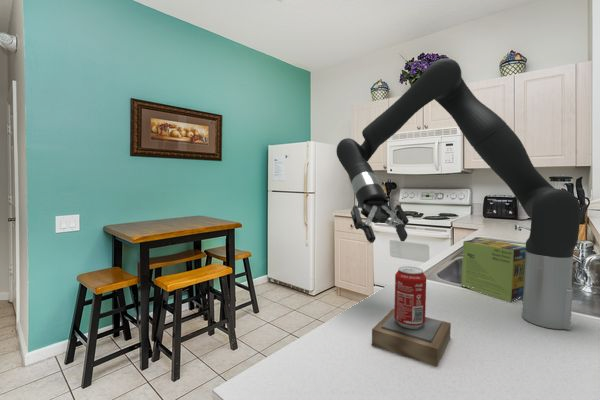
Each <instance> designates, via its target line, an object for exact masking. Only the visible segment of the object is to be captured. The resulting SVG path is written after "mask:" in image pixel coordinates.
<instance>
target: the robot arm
mask: <svg viewBox="0 0 600 400" xmlns="http://www.w3.org/2000/svg"><path fill="white" fill-rule="evenodd" d="M433 100H434V101H435V102H437V103H438V104H439V105H440V106H441V107H442V108H443V109H444V110H445V111H446V112H447V113H448V114H449V115H450V116H451V118H452V119H453V120H454V121H455V123H456V126H457V127H458V128H459V130H460V131H461V133H462V135H464V137H465V139H466V140H467V141H468V143H469V144H470V146H471V147H472V148H473V149H474V151H475V152H476V153H477V154H478V156H479V157H480V158H481V160H483V161H484V162H485V163H486V164H487V165H488V167H489V168H490V169H491V170H492V171H493V173H495V174H496V175H497V176H498V177H499V178H500V179H501V180H502V181H503V182H504V183H505V184H506V185H507V187H508V188H509V189H510V191H512V194H513V195H514V196H515V198H516V200H517V201H518V203H519V205H520V206H521V207H522V209H523V210H524V213H526V215H527V216H528V217H529V219H530V229H529V230H530V232H529V237H528V238H527V239H526V240H525V245H526V248H525V269H524V287H523V298H522V307H521V310H522V311H521V316H522V317H521V318H522V319H524V320H525V321H527V322H528V323H531V324H533V325H535V326H538V327H542V328H548V329H552V330H553V329H555V330H567V331H570V330H571V324H572V322H571V321H572V306H573V305H572V304H573V289H572V282H573V281H572V280H573V279H572V278H573V264H574V251H575V248H576V246H577V245H578V242H579V233H580V225H581V215H582V214H581V209H582V208H581V204H580V201H579V199H578V198H577V197H576V196H575V194H573V193H572V192H570V191H567V190H566V189H562V188H561V189H560V188H556V187H554V186H553V185H552V184H551V183H549V182H548V181H547V180H546V179H545V178H544V176H542V174H540V172H539V171H538V170H537V168H536V167H535V166H534V164H533V163H532V160H531V158H530V156H529V154H528V152H527V150H526V148H525V146H524V144H523V143H522V140H521V139H520V138H519V136H518V135H517V134H516V133H515V132H514V130H513V129H512V128H511V127H510V126H509V124H507V122H506V121H505V120H503V118H501V116H499V115H498V113H496V112H495V111H493V110H492V109H491V108H490V107H488V106H487V105H485V104H484V103H483V102H481V101H480V100H479V99H478V98H477V97H476V96H475V95H474V93H473V92H472V90H471V89H470V87H468V85H467V84H466V82H465V80H464V78H463V77H462V69H461V66H460V64H459V63H458V62H457V61H456V60H454V59H452V58H439V59H437V60H435V61H433V62H431V64H430V65H429V66H428V67H427V68H426V69H425V70H424V72H423V73H421V75H420V76H419V77H418V78H417V80H416V81H414V83H413V84H412V85H411V86H410V87H409V88H408V89H407V90H406V91H405V92H404V93H403V94H402V95H401V96H400V97H399V98H398V99H397V100H396V101H395V102H394V103H392V104H391V105H390V106H389V107H388V108H387V109H386V110H384V111H383V112H382V113H380V115H378V116H377V117H375V119H374V120H372V122H370V123H369V124H368V125H366V126H365V128H363V129H362V131H361V134H362V137H363V139H364V140H363V142H362V144H359V143H358V141H356V140H355V139H353V138H349V137H346V138H342V140H340V141H339V142H338V144H337V146H336V157H337V158H338V160H339V163H340V164H341V166H342V167H343V168H344V170H345V171H346V173H347V175H348V178H349V181H350V183H351V185H352V190H353V193H354V196H355V200H356V201H357V204H358V205H353V206H352V209H351V211H350V216H351V218H352V223H353V226H354V229H356V230H359V229H361V230H362V231H363V233H364V235H365V238H366V240H367V241H369V243H370V244H372V243H374V242H375V241H376V234H375V233H374V230H373V227H372V225H371V223H374V224H377V223H380V224H383V223H384V224H387V226H391V227H393V228H394V229H395V232H396V234H397V236H398V238H399V240H400V242H405V241H406V239H407V238H408V233H407V231H406V228H405V227H406V226H407V224H408V223H409V221H410V220H409V218H408V217H407V215H406V213H405V212H404V210H403V208H402V206H401V204H396V205H395V206H390V204H389V203H388V198H387V196H386V194H385V192H384V190H383V188H382V185H381V183H380V180H379V179H378V178H377V176H376V175H375V172H374V170H373V168H372V166H371V165H370V163H369V160H370V159H371V158H372V156H373V155H374V154H375V153H376V151H377V150H378V149H379V147H380V146H381V145H382V144H384V143H385V142H386V141H388V140H389V139H390V138H392V137H393V136H394V135H395V134H396V133H397V132H398V131H399V130H400V129H401V128H402V127H403V126H405V124H406V123H407V122H409V120H410V119H411V118H412V117H413V116H414V115H415V114H416V113H417V112H420V110H421V109H422V108H423V107H425V106H426V105H428V104H429V103H430V102H432V101H433ZM361 215H362V216H364V217H365V218H366V219H365V221H363V220H362V216H361ZM389 218H391V219H389Z"/></svg>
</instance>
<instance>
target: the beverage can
mask: <svg viewBox="0 0 600 400" xmlns="http://www.w3.org/2000/svg"><path fill="white" fill-rule="evenodd" d="M394 275H395V276H394V278H395V279H394V309H395V310H394V318H395V320H396V321H397V322H398V323H399V325H401V326H403V327H405V328H410V329H416V328H419V327H421V325H423V324H424V323H425V317H426V309H427V308H426V305H427V304H426V301H427V300H426V298H427V277H426V275H425V274H424V269H422V268H420V267H416V266H412V265H411V266H410V265H406V266H405V265H403V266H399V267H398V270H397V272H396V273H395V274H394Z"/></svg>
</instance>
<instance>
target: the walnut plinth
mask: <svg viewBox="0 0 600 400" xmlns="http://www.w3.org/2000/svg"><path fill="white" fill-rule="evenodd" d="M394 310H395V308H392V309H391V310H390V311H389V312H388V313H387V314H386V315H385V316H384V317H383V318H382V319H380V320H379V321H378V322H377V324H375V326H374V327H372V329H371V346H374V347H376V348H380V349H382V350H386V351H388V352H391V353H393V354H397V355H400V356H403V357H405V358H409V359H412V360H415V361H418V362H422V363H424V364H427V365H430V366H433V367H436V368H437V367H438V366H439V363H440V361H441V359H442V356H443V355H444V353H445V350H446V348H447V347H448V344H449V343H450V342H449V341H450V340H451V327H452V325H451V322H447V321H443V320H439V319H435V318H432V317H427V316H425V323H424V324H423V325H421V327H419V328H416V329H410V328H405V327H403V326H401V325H399V323H398V322H397V321H396V320H395V318H394Z"/></svg>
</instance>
